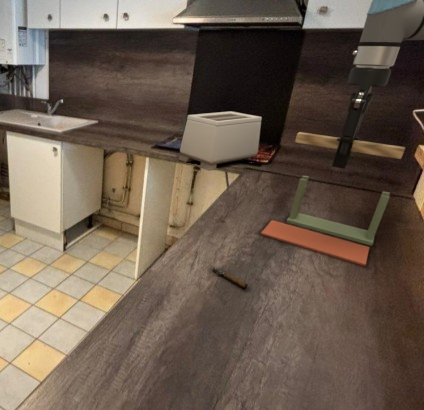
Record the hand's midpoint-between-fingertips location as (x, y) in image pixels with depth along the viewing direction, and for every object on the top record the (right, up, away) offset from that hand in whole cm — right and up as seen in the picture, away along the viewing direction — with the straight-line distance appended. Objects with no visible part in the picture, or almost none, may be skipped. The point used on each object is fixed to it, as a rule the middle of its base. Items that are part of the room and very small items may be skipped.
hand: (339, 165), depth 91 cm
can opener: (-32, -27, -10) cm, 43 cm away
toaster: (-1, +11, +77) cm, 78 cm away
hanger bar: (0, +4, -2) cm, 4 cm away
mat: (-3, -20, +6) cm, 21 cm away
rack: (+7, -17, +14) cm, 23 cm away
